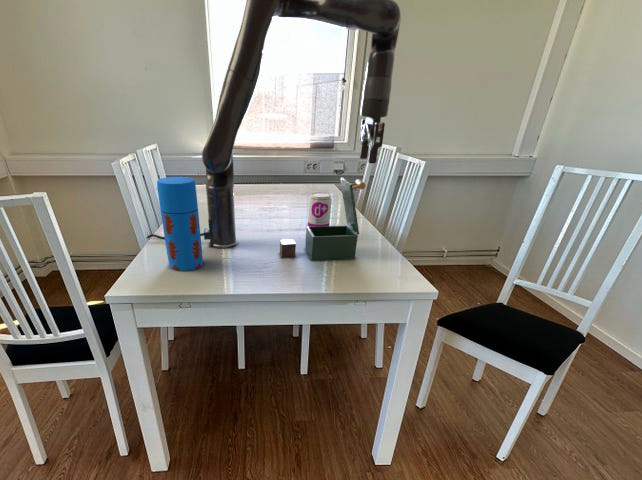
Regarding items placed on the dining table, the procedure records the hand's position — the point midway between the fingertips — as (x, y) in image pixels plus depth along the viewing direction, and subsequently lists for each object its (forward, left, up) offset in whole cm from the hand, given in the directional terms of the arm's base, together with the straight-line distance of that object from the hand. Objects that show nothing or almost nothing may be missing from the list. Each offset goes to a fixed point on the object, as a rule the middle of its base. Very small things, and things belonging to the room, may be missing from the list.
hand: (367, 160), depth 119 cm
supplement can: (-9, +20, -29) cm, 36 cm away
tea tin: (-9, 0, -29) cm, 30 cm away
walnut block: (-24, 0, -29) cm, 37 cm away
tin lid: (-4, 0, -13) cm, 14 cm away
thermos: (-57, -5, -29) cm, 64 cm away
